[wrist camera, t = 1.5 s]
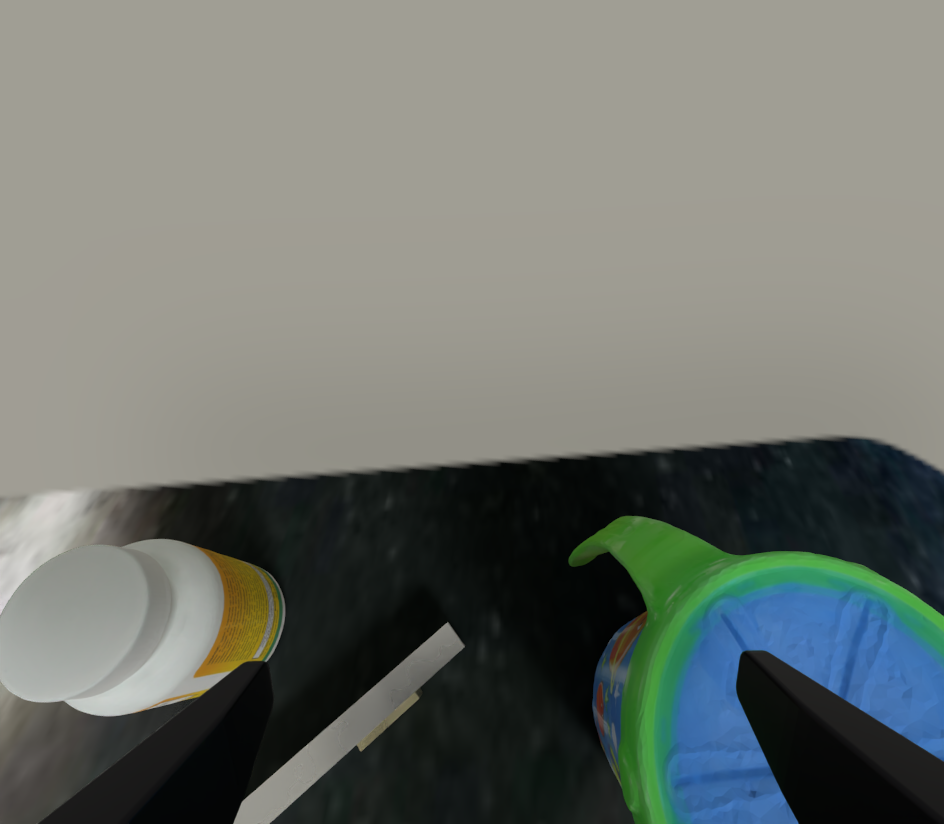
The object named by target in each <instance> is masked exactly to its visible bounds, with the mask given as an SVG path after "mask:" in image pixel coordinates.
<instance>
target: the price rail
mask: <svg viewBox="0 0 944 824" xmlns="http://www.w3.org/2000/svg"><path fill="white" fill-rule="evenodd" d="M464 647H465V645H464V643H463V642H462V641H461V639H460V638H459V636H458V635H457V633H456V632H455V631H454V629H453V628H452V626H451V625H450V624H449V623H448V622H447V623H446V624H445V625H444V626H443V627H442V628H440V629H439V630H438V631H437V632H436V633H435V634H434V635H432V636H431V637H430V638H429V639H428V640H427V641H426V642H424V643H423V644H422V645H421V646H420V647H419V648H418V649H416V650H415V651H414V652H413V653H412V654H411V655H410V656H408V657H407V658H406V659H405V660H404V661H403V662H402V663H400V664H399V665H398V666H397V667H396V668H395V669H393V670H392V671H391V672H390V673H389V674H388V675H387V676H385V677H384V678H383V679H382V680H381V681H380V682H379V683H377V684H376V685H375V686H374V687H373V688H372V689H371V690H369V691H368V692H367V693H366V694H365V695H364V696H363V697H361V698H360V699H359V700H358V701H357V702H356V703H355V704H353V705H352V706H351V707H350V708H349V709H348V710H347V711H345V712H344V713H343V714H342V715H341V716H340V717H338V718H337V719H336V720H335V721H334V722H333V723H332V724H330V725H329V726H328V727H327V728H326V729H325V730H324V731H322V732H321V733H320V734H319V735H318V736H317V737H316V738H314V739H313V740H312V741H311V742H310V743H309V744H308V745H306V746H305V747H304V748H303V749H302V750H301V751H300V752H298V753H297V754H296V755H295V756H294V757H293V758H292V759H290V760H289V761H288V762H287V763H286V764H285V765H283V766H282V767H281V768H280V769H279V770H278V771H277V772H275V773H274V774H273V775H272V776H271V777H270V778H269V779H267V780H266V781H265V782H264V783H263V784H262V785H261V786H259V787H258V788H257V789H256V790H255V791H254V792H253V793H251V794H250V795H249V796H248V797H247V798H246V799H245V800H243V801H242V803H241V806H240V808H239V811H238V813H237V816H236V818H235V821H234V823H233V824H269V823H271V822H272V821H273V820H274V819H275V818H276V817H277V816H278V815H279V814H281V813H282V812H283V811H284V810H285V809H286V808H287V807H288V806H289V805H290V804H292V803H293V802H294V801H295V800H296V799H297V798H298V797H299V796H300V795H302V794H303V793H304V792H305V791H306V790H307V789H308V788H309V787H310V786H311V785H313V784H314V783H315V782H316V781H317V780H318V779H319V778H320V777H321V776H323V775H324V774H325V773H326V772H327V771H328V770H329V769H330V768H331V767H332V766H334V765H335V764H336V763H337V762H338V761H339V760H340V759H341V758H342V757H344V756H345V755H346V754H347V753H348V752H349V751H350V750H351V749H352V748H353V747H355V746H356V745H357V746H358V748H359V750H360V751H362V750H363V749H364V748H366V747H367V746H368V745H369V744H370V743H371V742H372V741H373V740H374V739H375V738H377V737H378V736H379V735H380V734H381V733H382V732H383V731H384V730H385V729H386V728H387V727H389V726H390V725H391V724H392V723H393V722H394V721H395V720H396V719H397V718H398V717H400V716H401V715H402V714H403V713H404V712H405V711H406V710H407V709H408V708H409V707H410V706H412V705H413V704H414V703H415V702H416V701H417V700H418V699H419V698H420V696H421V695H422V693H423V692H422V690H421V689H420V687H421V686H422V685H423V684H424V683H425V682H426V681H427V680H429V679H430V678H431V677H432V676H433V675H434V674H435V673H436V672H437V671H439V670H440V669H441V668H442V667H443V666H444V665H445V664H446V663H447V662H448V661H450V660H451V659H452V658H453V657H454V656H455V655H456V654H457V653H458V652H460V651H461V650H462V649H463V648H464Z"/></svg>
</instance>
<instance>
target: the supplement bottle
mask: <svg viewBox="0 0 944 824" xmlns="http://www.w3.org/2000/svg"><path fill="white" fill-rule="evenodd" d="M284 621H285V602H284V597H283V594H282V591H281V589H280V587H279V585H278V583H277V582H276V580H275V579H274V578H273V576H272V575H270V574H269V573H268V572H267V571H265V570H264V569H262V568H260V567H258V566H255V565H253V564H250V563H247V562H244V561H241V560H237V559H235V558H231V557H228V556H225V555H221V554H218V553H216V552H213V551H210V550H207V549H203V548H200V547H197V546H194V545H190V544H187V543H184V542H181V541H176V540H170V539H151V540H144V541H139V542H135V543H132V544H129V545H126V546H123V547H116V546H111V545H88V546H82V547H78V548H75V549H72V550H69V551H66V552H64V553H62V554H59V555H58V556H56V557H54V558H52V559H50V560H49V561H47V562H46V563H44V564H43V565H41V566H40V567H39V568H38V569H36V570H35V571H34V572H33V573H32V574H31V575H29V576H28V577H27V578H26V579H25V580H24V581H23V582H22V584H21V585H20V586H19V587H18V588H17V590H16V591H15V592H14V594H13V595H12V597H11V598H10V600H9V601H8V603H7V604H6V606H5V608H4V609H3V611H2V614H1V616H0V681H1V682H2V684H3V685H4V686H5V687H6V689H7V690H9V691H10V692H11V693H13V694H14V695H16V696H18V697H20V698H22V699H25V700H28V701H33V702H58V701H65V702H66V703H67V704H69V705H70V706H72V707H73V708H75V709H77V710H79V711H82V712H85V713H89V714H93V715H99V716H118V715H125V714H130V713H135V712H139V711H143V710H147V709H151V708H155V707H159V706H163V705H167V704H172V703H175V702H179V701H183V700H187V699H191V698H195V697H199V696H201V695H202V694H203V693H205V692H206V691H207V690H209V689H210V688H211V687H212V686H214V685H215V684H216V683H218V682H219V681H220V680H221V679H223V678H224V677H225V676H226V675H228V674H229V673H230V672H232V671H233V670H234V669H235V668H237V667H238V666H239V665H241V664H242V663H244V662H247V661H265V662H267V661H268V659H269V658H270V657H271V655H272V654H273V652H274V650H275V648H276V646H277V644H278V641H279V639H280V636H281V633H282V630H283V626H284Z"/></svg>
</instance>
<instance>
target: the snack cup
mask: <svg viewBox="0 0 944 824" xmlns="http://www.w3.org/2000/svg"><path fill="white" fill-rule="evenodd" d="M606 552H610V553H611V554H612V555H613V556H614V557H615V558H616V559H617V560H618V561H619V562H620V563H621V564H622V565H623V566H624V567H625V568H626V570H627V571H628V572H629V574H630V576H631V577H632V579H633V580H634V582H635V584H636V585H637V587H638V588H639V590H640V592H641V593H642V596H643V599H644V602H645V604H646V607H647V611H646V612H644V613H643V614H641V615H640V616H638V617H636V618H634V619H633V620H631V621H629V622H628V623H627V624H625V625H624V626H622V627H621V628H620V629H619V630H618V631H617V632H616V633H615V634H614V635H613V638H611V639H610V641H609V642H608V645H607V647H606V648H605V650H604V652H603V654H602V656H601V658H600V660H599V662H598V665H597V668H596V672H595V679H594V685H593V701H592V709H593V713H594V720H595V725H596V728H597V731H598V735H599V738H600V743H601V745H602V748H603V750H604V752H605V754H606V756H607V759H608V761H609V763H610V766H611V768H612V770H613V772H614V774H615V775H616V778H617V780H618V782H619V783H620V785H621V787H622V790H623V795H624V800H625V802H626V804H627V807H628V809H629V810H630V811H631V812H632V815H633V819H634V822H635V824H799V823H798V821H797V820H796V818H795V816H794V814H793V812H792V811H791V809H790V807H789V805H788V803H787V801H786V800H785V798H784V796H783V794H782V792H781V790H780V788H779V786H778V784H777V782H776V780H775V778H774V776H773V773H772V771H771V769H770V767H769V765H768V763H767V760H766V758H765V756H764V754H763V752H762V750H761V747H760V745H759V743H758V741H757V739H756V737H755V734H754V732H753V730H752V728H751V726H750V724H749V721H748V719H747V717H746V715H745V713H744V711H743V708H742V706H741V704H740V702H739V699H738V696H737V692H736V680H737V673H738V666H739V659H740V655H741V653H742V652H743V651H746V650H764V651H767V652H769V653H771V654H773V655H774V656H776V657H777V658H779V659H781V660H782V661H784V662H785V663H787V664H789V665H790V666H792V667H793V668H795V669H797V670H798V671H800V672H801V673H803V674H805V675H806V676H808V677H809V678H811V679H813V680H814V681H816V682H817V683H819V684H821V685H822V686H824V687H825V688H827V689H829V690H830V691H832V692H833V693H835V694H837V695H838V696H840V697H841V698H843V699H845V700H846V701H848V702H849V703H851V704H853V705H854V706H856V707H857V708H859V709H861V710H862V711H864V712H865V713H867V714H869V715H870V716H872V717H873V718H875V719H877V720H878V721H880V722H881V723H883V724H885V725H886V726H888V727H889V728H891V729H893V730H894V731H896V732H897V733H899V734H901V735H902V736H904V737H905V738H907V739H909V740H910V741H912V742H913V743H915V744H917V745H918V746H920V747H921V748H923V749H925V750H926V751H928V752H930V753H931V754H933V755H934V756H936V757H938V758H939V759H941V760H942V761H944V617H943V616H942V615H941V614H940V613H938V612H937V611H936V610H934V609H933V608H932V607H930V606H929V605H927V604H926V603H924V602H923V601H922V600H920V599H919V598H918V597H917V596H915V595H914V594H912V593H911V592H909V591H907V590H906V589H904V588H902V587H900V586H899V585H897V584H895V583H893V582H891V581H889V580H888V579H886V578H885V577H883V576H880V575H879V574H877V573H876V572H874V571H872V570H870V569H868V568H867V567H865V566H863V565H860V564H856V563H852V562H846V561H843V560H841V559H837V558H833V557H829V556H825V555H819V554H813V553H810V552H791V551H778V552H766V553H758V554H752V555H743V556H740V555H731V554H728V553H725V552H723V551H721V550H719V549H717V548H716V547H714V546H712V545H710V544H709V543H707V542H705V541H703V540H701V539H700V538H698V537H696V536H693V535H691V534H689V533H687V532H686V531H683V530H681V529H678V528H676V527H673V526H672V525H670V524H667V523H664V522H661V521H658V520H654V519H650V518H646V517H640V516H624V517H620V518H618V519H616V520H615V521H613V522H612V523H610V524H609V525H608V526H607V527H606V528H604V529H602V530H600V531H598V532H597V533H596V534H595V535H594V536H591V537H590V538H588V539H587V540H585V541H584V542H583V543H581V544H580V545H579V546H578V547H577V548H576V549H575V550H574V551H573V552H572V554H571V555H570V557H569V565H570V566H572V567H576V566H581V565H585V564H587V563H588V562H590V561H591V560H593V559H594V558H595V557H596V556H597V555H599V554H603V553H606Z"/></svg>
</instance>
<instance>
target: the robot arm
mask: <svg viewBox="0 0 944 824" xmlns="http://www.w3.org/2000/svg"><path fill="white" fill-rule="evenodd" d="M736 692H737V696H738V699H739V702H740V704H741V706H742V708H743V711H744V713H745V715H746V717H747V719H748V721H749V724H750V726H751V728H752V730H753V732H754V734H755V737H756V739H757V741H758V743H759V745H760V747H761V750H762V752H763V754H764V756H765V758H766V760H767V763H768V765H769V767H770V769H771V771H772V773H773V776H774V778H775V780H776V782H777V784H778V786H779V788H780V790H781V792H782V794H783V796H784V798H785V800H786V801H787V803H788V805H789V807H790V809H791V811H792V812H793V814H794V816H795V818H796V820H797V821H798V823H799V824H944V761H942V760H941V759H939V758H938V757H936V756H934V755H933V754H931V753H930V752H928V751H926V750H925V749H923V748H921V747H920V746H918V745H917V744H915V743H913V742H912V741H910V740H909V739H907V738H905V737H904V736H902V735H901V734H899V733H897V732H896V731H894V730H893V729H891V728H889V727H888V726H886V725H885V724H883V723H881V722H880V721H878V720H877V719H875V718H873V717H872V716H870V715H869V714H867V713H865V712H864V711H862V710H861V709H859V708H857V707H856V706H854V705H853V704H851V703H849V702H848V701H846V700H845V699H843V698H841V697H840V696H838V695H837V694H835V693H833V692H832V691H830V690H829V689H827V688H825V687H824V686H822V685H821V684H819V683H817V682H816V681H814V680H813V679H811V678H809V677H808V676H806V675H805V674H803V673H801V672H800V671H798V670H797V669H795V668H793V667H792V666H790V665H789V664H787V663H785V662H784V661H782V660H781V659H779V658H777V657H776V656H774V655H773V654H771V653H769V652H767V651H764V650H746V651H743V652H742V653H741V655H740V659H739V666H738V673H737V680H736ZM273 704H274V692H273V686H272V680H271V674H270V668H269V665H268V663H267V662H265V661H247V662H244V663H242V664H241V665H239V666H238V667H237V668H235V669H234V670H233V671H232V672H230V673H229V674H228V675H226V676H225V677H224V678H223V679H221V680H220V681H219V682H218V683H216V684H215V685H214V686H212V687H211V688H210V689H209V690H207V691H206V692H205V693H203V694H202V695H201V696H200V697H198V698H197V699H196V700H195V701H193V702H192V703H191V704H189V705H188V706H187V707H186V708H184V709H183V710H182V711H180V712H179V713H178V714H177V715H175V716H174V717H173V718H172V719H170V720H169V721H168V722H166V723H165V724H164V725H163V726H161V727H160V728H159V729H157V730H156V731H155V732H154V733H152V734H151V735H150V736H148V737H147V738H146V739H145V740H143V741H142V742H141V743H140V744H138V745H137V746H136V747H134V748H133V749H132V750H131V751H129V752H128V753H127V754H125V755H124V756H123V757H122V758H120V759H119V760H118V761H117V762H115V763H114V764H113V765H111V766H110V767H109V768H108V769H106V770H105V771H104V772H102V773H101V774H100V775H99V776H97V777H96V778H95V779H94V780H92V781H91V782H90V783H88V784H87V785H86V786H85V787H83V788H82V789H81V790H79V791H78V792H77V793H76V794H74V795H73V796H72V797H70V798H69V799H68V800H67V801H65V802H64V803H63V804H62V805H60V806H59V807H58V808H56V809H55V810H54V811H53V812H51V813H50V814H49V815H47V816H46V817H45V818H44V819H42V820H41V821H40V822H39V823H37V824H233V823H234V821H235V818H236V816H237V813H238V811H239V808H240V806H241V803H242V800H243V797H244V795H245V792H246V789H247V786H248V783H249V780H250V777H251V774H252V771H253V767H254V764H255V761H256V758H257V755H258V752H259V749H260V746H261V743H262V740H263V737H264V734H265V731H266V728H267V724H268V721H269V718H270V715H271V712H272V709H273Z"/></svg>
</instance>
